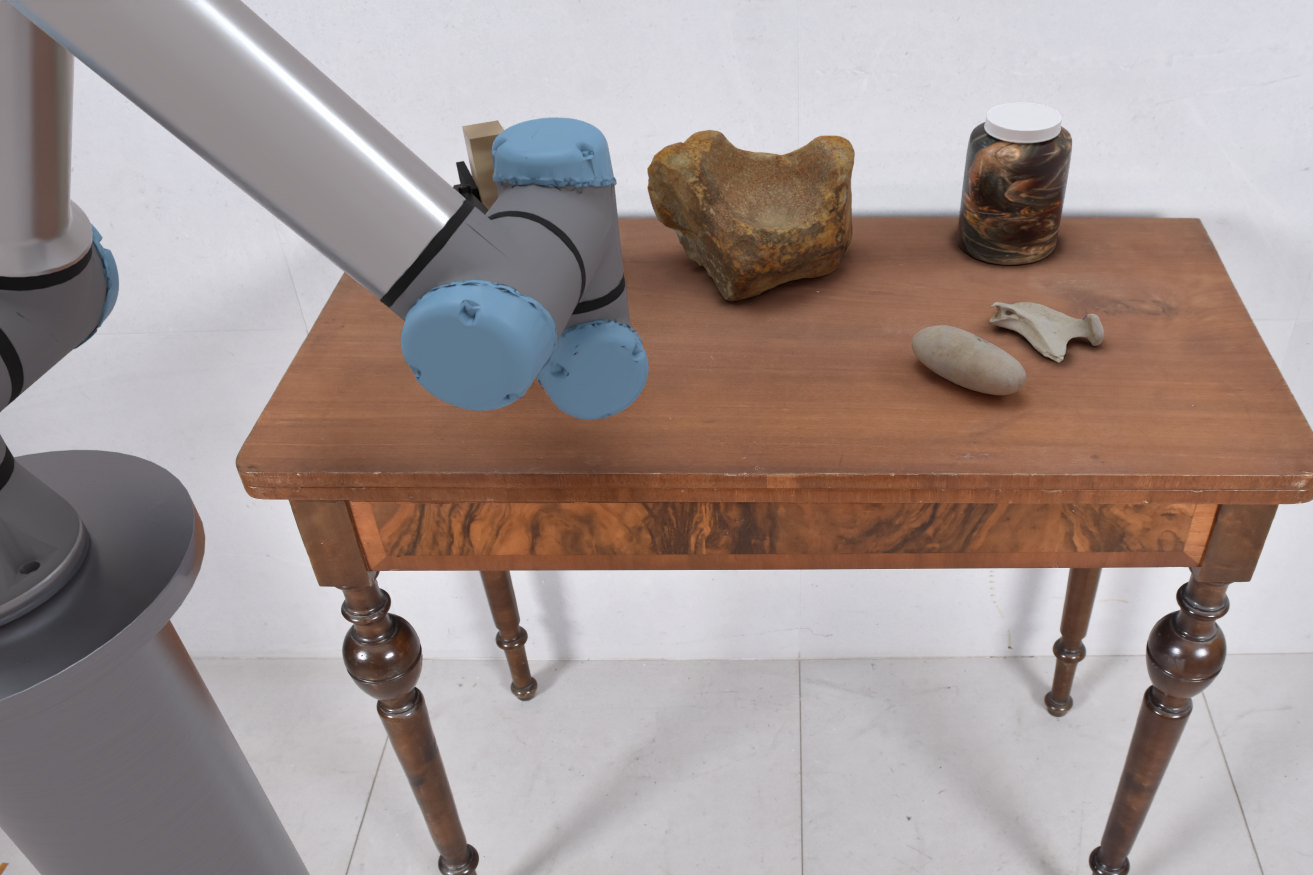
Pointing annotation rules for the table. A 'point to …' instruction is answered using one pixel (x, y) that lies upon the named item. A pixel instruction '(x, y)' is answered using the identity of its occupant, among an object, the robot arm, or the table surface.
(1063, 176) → the jar
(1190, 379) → the table surface
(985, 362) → the stone
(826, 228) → the rough brown rock
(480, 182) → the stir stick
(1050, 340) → the fossil
